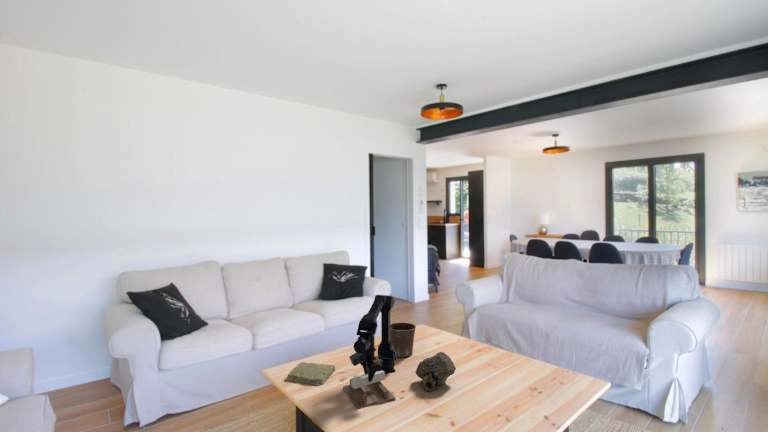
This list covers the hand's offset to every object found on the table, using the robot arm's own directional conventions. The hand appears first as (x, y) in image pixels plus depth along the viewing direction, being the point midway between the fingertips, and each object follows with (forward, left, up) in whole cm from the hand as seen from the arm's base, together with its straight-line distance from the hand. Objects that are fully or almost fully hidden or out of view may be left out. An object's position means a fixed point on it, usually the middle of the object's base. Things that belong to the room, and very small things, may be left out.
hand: (368, 379), depth 177 cm
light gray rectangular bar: (0, 0, -1) cm, 1 cm away
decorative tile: (+20, -30, -7) cm, 37 cm away
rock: (-31, +4, -7) cm, 32 cm away
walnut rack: (0, 0, -6) cm, 6 cm away
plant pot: (-35, -38, -7) cm, 52 cm away
